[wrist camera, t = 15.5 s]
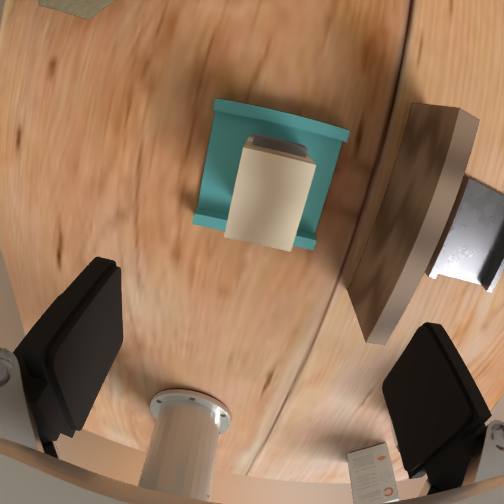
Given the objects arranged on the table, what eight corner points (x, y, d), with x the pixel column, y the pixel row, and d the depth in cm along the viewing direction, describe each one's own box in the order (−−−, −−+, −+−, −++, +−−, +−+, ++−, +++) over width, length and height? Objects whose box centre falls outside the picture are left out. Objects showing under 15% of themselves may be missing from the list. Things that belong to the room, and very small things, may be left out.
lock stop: (303, 140, 25) (318, 155, 18) (284, 211, 28) (290, 251, 21) (251, 127, 25) (245, 137, 18) (235, 200, 28) (224, 237, 21)
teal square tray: (344, 129, 25) (350, 130, 23) (311, 241, 30) (313, 250, 28) (218, 98, 24) (215, 98, 23) (196, 216, 29) (192, 223, 27)
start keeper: (484, 284, 31) (491, 292, 29) (422, 268, 30) (428, 276, 29) (520, 205, 26) (529, 210, 25) (459, 173, 26) (469, 178, 24)
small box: (350, 463, 52) (357, 516, 40) (346, 452, 49) (353, 510, 37) (387, 453, 50) (398, 505, 38) (386, 441, 47) (399, 498, 36)
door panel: (364, 294, 32) (385, 344, 25) (347, 291, 32) (365, 342, 25) (430, 111, 23) (479, 119, 16) (412, 103, 23) (459, 107, 16)
